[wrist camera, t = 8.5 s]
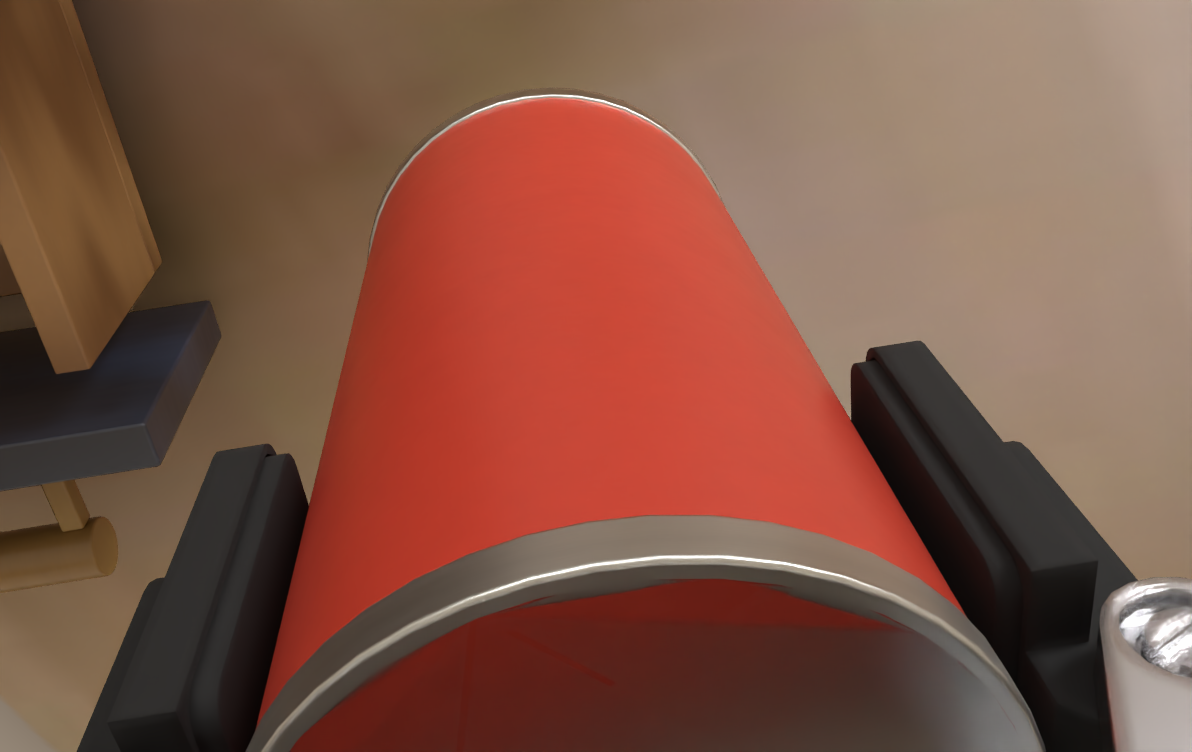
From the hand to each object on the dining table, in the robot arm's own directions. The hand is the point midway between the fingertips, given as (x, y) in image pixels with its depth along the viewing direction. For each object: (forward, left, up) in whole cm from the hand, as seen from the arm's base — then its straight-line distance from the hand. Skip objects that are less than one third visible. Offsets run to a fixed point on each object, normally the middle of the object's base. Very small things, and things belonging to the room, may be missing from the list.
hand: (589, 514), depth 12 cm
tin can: (0, 0, -7) cm, 7 cm away
